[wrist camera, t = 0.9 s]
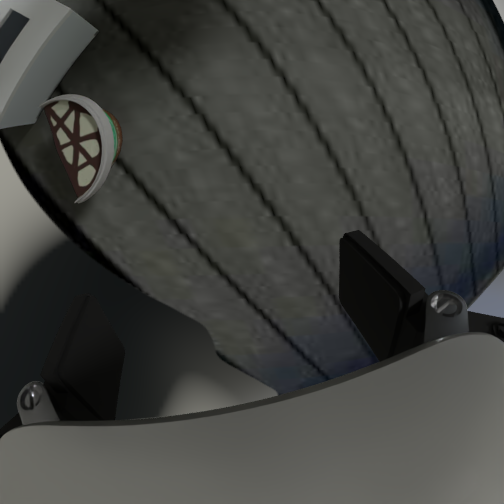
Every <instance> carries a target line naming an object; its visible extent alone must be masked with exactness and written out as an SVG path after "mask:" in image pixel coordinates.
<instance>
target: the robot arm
mask: <svg viewBox="0 0 504 504" xmlns="http://www.w3.org/2000/svg"><path fill="white" fill-rule="evenodd" d="M339 299H340V302H341V304H342V306H343V307H344V309H345V310H346V312H347V313H348V315H349V316H350V318H351V319H352V321H353V322H354V323H355V325H356V326H357V328H358V329H359V331H360V332H361V334H362V335H363V337H364V338H365V340H366V341H367V343H368V344H369V346H370V347H371V349H372V350H373V352H374V354H375V355H376V357H377V358H378V360H379V361H380V362H378V363H376V364H373V365H370V366H368V367H365V368H362V369H360V370H357V371H354V372H352V373H349V374H346V375H343V376H341V377H338V378H335V379H332V380H329V381H326V382H323V383H320V384H317V385H313V386H310V387H307V388H304V389H300V390H297V391H293V392H290V393H286V394H282V395H278V396H275V397H271V398H267V399H263V400H259V401H254V402H250V403H245V404H240V405H236V406H231V407H226V408H221V409H215V410H209V411H204V412H197V413H189V414H182V415H175V416H167V417H156V418H145V419H131V420H115V414H116V407H117V399H118V392H119V386H120V379H121V373H122V367H123V362H124V356H125V350H124V347H123V344H122V343H121V341H120V340H119V338H118V336H117V335H116V333H115V331H114V330H113V328H112V326H111V325H110V323H109V321H108V319H107V318H106V316H105V314H104V312H103V310H102V309H101V307H100V305H99V303H98V301H97V299H96V298H95V297H94V296H91V295H90V294H89V293H86V294H82V295H78V296H75V298H74V299H73V301H72V303H71V305H70V307H69V310H68V311H67V314H66V316H65V318H64V320H63V322H62V324H61V326H60V329H59V331H58V333H57V335H56V337H55V340H54V342H53V345H52V347H51V349H50V352H49V354H48V356H47V359H46V361H45V364H44V367H43V369H42V372H41V376H42V378H43V379H44V380H45V382H44V384H43V383H41V382H38V381H34V382H31V383H29V384H27V385H26V386H25V387H24V388H23V389H22V391H21V392H20V394H19V396H18V401H17V407H18V411H19V413H18V414H17V415H16V416H15V417H13V418H12V419H11V420H10V421H9V422H8V423H7V424H5V425H4V426H3V427H2V428H1V429H0V504H504V318H500V317H495V316H490V315H485V314H480V313H475V312H470V311H467V306H466V303H465V301H464V300H463V299H462V298H461V297H460V296H459V295H458V294H456V293H453V292H451V291H447V290H439V291H435V292H433V293H431V294H430V295H429V296H428V295H427V294H426V293H425V288H424V287H423V286H422V285H421V284H420V283H419V282H418V281H417V280H416V279H414V278H413V277H412V276H411V275H410V274H409V273H408V272H407V271H406V270H405V269H404V268H402V267H401V266H400V265H399V264H398V263H397V262H396V261H395V260H394V259H392V258H391V257H390V256H389V255H388V254H387V253H386V252H384V251H383V250H382V249H381V248H380V247H379V246H377V245H376V244H375V243H374V242H373V241H372V240H370V239H369V238H368V237H367V236H366V235H364V234H363V233H362V232H361V231H359V230H357V231H353V232H349V233H345V234H344V236H343V238H341V239H340V274H339Z"/></svg>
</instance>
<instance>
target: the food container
mask: <svg viewBox="0 0 504 504" xmlns="http://www.w3.org/2000/svg"><path fill="white" fill-rule="evenodd" d="M38 107H41V108H44V110H45V114H46V116H47V119H48V122H49V125H50V128H51V131H52V135H53V139H54V143H55V146H56V149H57V152H58V155H59V157H60V159H61V161H62V163H63V165H64V168H65V170H66V172H67V174H68V176H69V179H70V181H71V183H72V186H73V188H74V190H75V193H76V195H77V197H78V199H77V200H76V201H75V202H74V203H76V202H78V203H81V202H84V201H86V200H87V199H89V198H90V197H91V196H93V195H94V194H95V193H96V192H97V191H98V189H99V188H100V187H101V186H102V184H103V183H104V181H105V179H106V178H107V175H108V173H109V171H110V168H111V166H112V165H113V164H114V163H115V161H116V159H117V157H118V155H119V153H120V151H121V146H122V141H123V140H122V131H121V127H120V125H119V122H118V121H117V119H116V118H115V117H114V116H113V115H112V114H111V113H109V112H108V111H106V110H104V109H101V108H100V107H99V106H98V105H97V104H96V103H95V102H94V101H92V100H91V99H89V98H87V97H84V96H81V95H76V94H67V95H61V96H58V97H55V98H52V99H50V100H47V101H45V102H44V103H42V104H41V105H40V106H38Z"/></svg>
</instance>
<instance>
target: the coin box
mask: <svg viewBox="0 0 504 504" xmlns="http://www.w3.org/2000/svg"><path fill="white" fill-rule="evenodd" d="M98 33H99V31H98V30H97V29H96V28H95V27H93V26H92V25H91V24H90V23H88V22H87V21H86V20H85V19H83V18H82V17H81V16H80V15H78V14H77V13H76V12H74V11H73V10H72V9H70V8H68V7H67V6H65V5H63V4H61V3H59V2H57V1H55V0H0V129H3V128H8V127H14V126H20V125H27V124H34V123H35V122H36V121H37V119H38V117H39V115H40V113H41V112H42V110H43V108H41V107H38V106H40V105H41V104H42V103H44V102H45V101H47V100H49V98H50V97H51V95H52V94H53V92H54V90H55V89H56V87H57V86H58V84H59V83H60V81H61V80H62V78H63V77H64V76H65V74H66V73H67V71H68V70H69V69H70V67H71V66H72V65H73V63H74V62H75V61H76V59H77V58H78V57H79V55H80V54H81V53H82V52H83V50H84V49H85V48H86V47H87V45H88V44H89V43H90V42H91V41H92V39H93V38H94V37H95V36H96V35H97V34H98Z"/></svg>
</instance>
